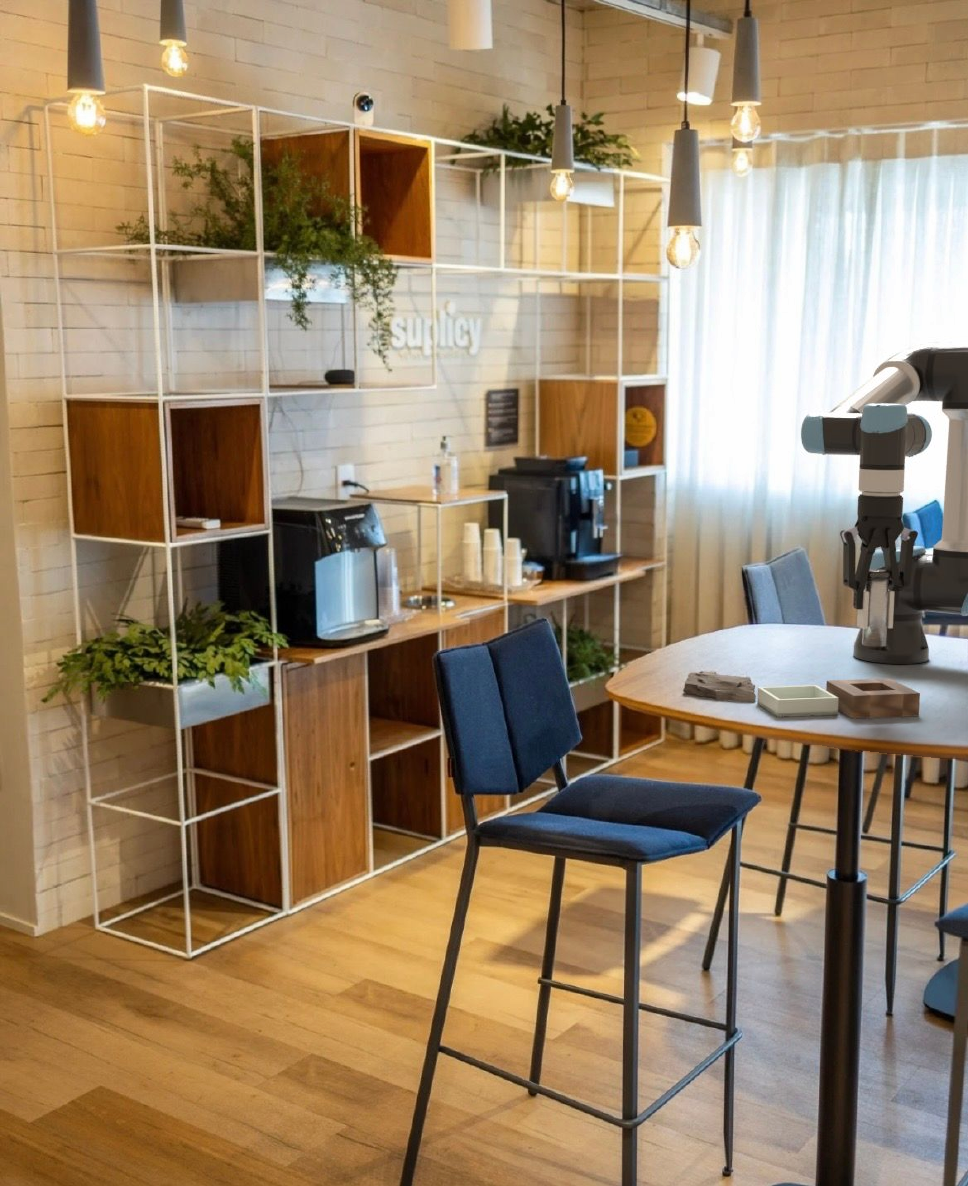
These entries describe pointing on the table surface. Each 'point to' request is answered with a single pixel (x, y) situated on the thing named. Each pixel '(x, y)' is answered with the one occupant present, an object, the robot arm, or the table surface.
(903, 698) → the bore block
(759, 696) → the tray
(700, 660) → the table surface
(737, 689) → the rock
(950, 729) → the table surface
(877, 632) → the capped bottle
